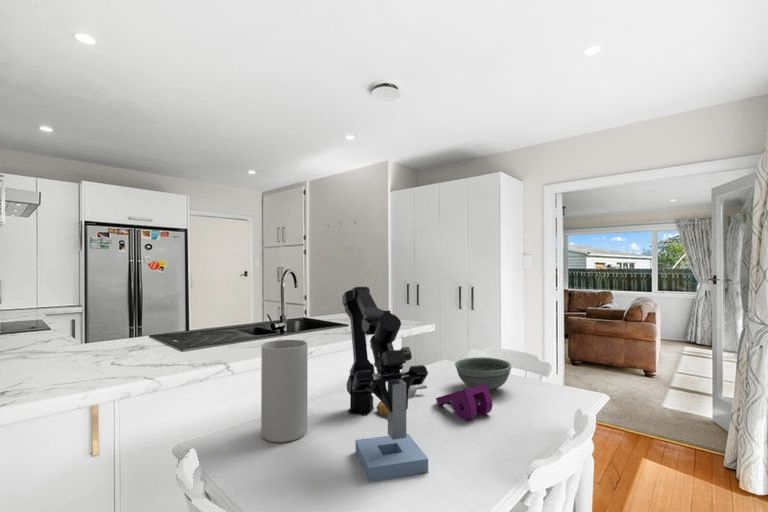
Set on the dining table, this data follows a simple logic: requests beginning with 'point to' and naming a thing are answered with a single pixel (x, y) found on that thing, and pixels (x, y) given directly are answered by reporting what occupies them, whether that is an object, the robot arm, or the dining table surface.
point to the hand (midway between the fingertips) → (398, 410)
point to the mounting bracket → (469, 401)
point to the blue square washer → (390, 457)
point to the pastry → (382, 409)
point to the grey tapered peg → (397, 409)
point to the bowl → (483, 372)
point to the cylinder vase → (284, 390)
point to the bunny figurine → (413, 389)
